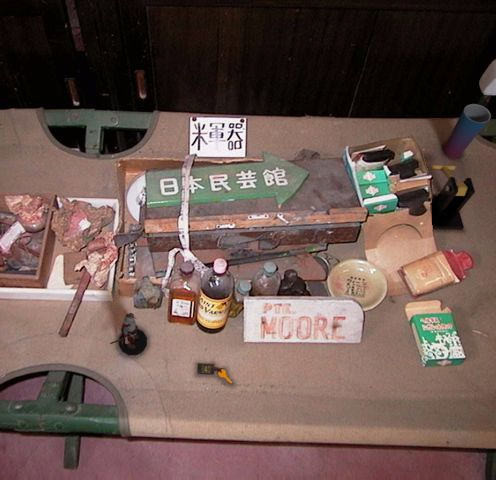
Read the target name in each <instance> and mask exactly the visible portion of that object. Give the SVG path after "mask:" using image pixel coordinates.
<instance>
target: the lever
mask: <svg viewBox="0 0 496 480" xmlns="http://www.w3.org/2000/svg"><path fill="white" fill-rule="evenodd" d="M456 167H457V166H456V165H455V164H453V165H451V164H431V165H430V170H438V171H439V170H441V172H442V173H443V174H444V176H445V177H446V179H447V181H448V180H449V179H450V177H454V178H455V181H456V184H457V188H458V193H457V194H456V195H455V196H465V193H466V191H467V188H468V187H467V186H466V185H465V184H464V181H458V179H457V178H456V177H455V176H454V175H453V173H452V171H455V170H456Z"/></svg>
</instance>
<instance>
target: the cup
mask: <svg viewBox="0 0 496 480" xmlns="http://www.w3.org/2000/svg"><path fill="white" fill-rule="evenodd" d="M491 118H492V114H491V112H490V111H489V109H488V108H486V107H485V106H483V105H481V104H479V103H471V104H467V105H466V106H465V107H464V108H463V110H462V112H461V114H460V115H459V118H458V119H457V122H456V123H455V125H454V127H453V128H452V131H451V133H450V134H449V136H448V138H447V140H446V141H445V143H444V145H443V147H442V152H443V153H444V155H446V156H448V157H449V158H452V159H455V158H459V157H460V156H461V155H462V154H463V153H464V152H465V150H466V149H467V148H468V147H469V145H470V144H471V143H472V142H473V140H474V139H475V138H476V137H477V136H478V135H479V134H480V132H481V130H483V128H485V126H486V125H487V123H488V122H489V121H490V120H491Z"/></svg>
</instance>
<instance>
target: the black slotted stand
mask: <svg viewBox="0 0 496 480" xmlns="http://www.w3.org/2000/svg"><path fill="white" fill-rule="evenodd" d="M454 177H455V176H454ZM454 177H450V179H449V180H448V179H447V181H446V183H445V184H444V185H443V187H442V188H441V189H440V191H439V192H438V194H437V195H432V196H433V199H432V204H431V205H432V225H433V229H432V230H449V231H450V230H452V231H453V230H454V231H463V230H464V228H465V226H464V223H463V220H462V216H461V212H460V211H461V210H462V209H463V207H464V206H465V205H466V204H467V203H468V202H469V200H470V199H471V198H472V197H473V195H474V194H475V193H476V191H475V187H474V184H473V181H472V178H471V177H466V178H465V180H464V181H463V182H464V184H465V185H466V186H467V187H468V188H467V191H466V193H465V196H455V195H456V194H457V193H458V188H457V184H456V181H455V179H456V177H455V178H454Z"/></svg>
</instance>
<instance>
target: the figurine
mask: <svg viewBox="0 0 496 480" xmlns="http://www.w3.org/2000/svg"><path fill="white" fill-rule="evenodd" d="M136 320H138V318H137V317H135V315H134V313H133V312H129V313H125V316H124V319H123V322H122V324H121V328H120V332H121V334H120V336H119V337H118V339H117V340H114V341H111V342H109V345H113V344H115V343H118V347H119V348H120V350H121V352H122V353H124V354H126V355H127V356H138V355H140V354H142V353H143V352H144V351H145V349H146V348H147V346H148V337H147V335H146V333H145V332H144V331H143V330H141V329H140V328H139V326H138V325H137V322H136Z"/></svg>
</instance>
